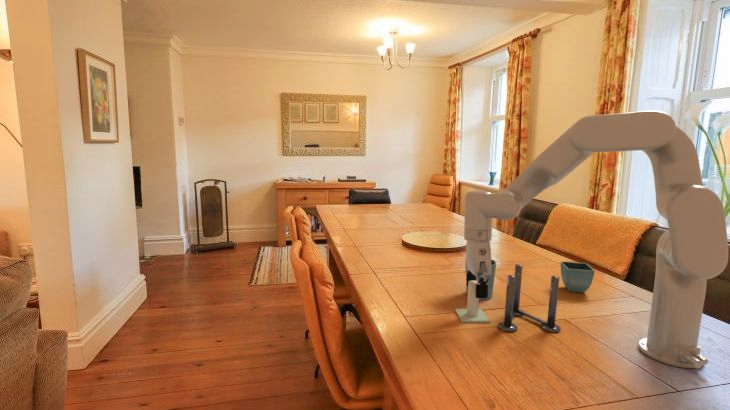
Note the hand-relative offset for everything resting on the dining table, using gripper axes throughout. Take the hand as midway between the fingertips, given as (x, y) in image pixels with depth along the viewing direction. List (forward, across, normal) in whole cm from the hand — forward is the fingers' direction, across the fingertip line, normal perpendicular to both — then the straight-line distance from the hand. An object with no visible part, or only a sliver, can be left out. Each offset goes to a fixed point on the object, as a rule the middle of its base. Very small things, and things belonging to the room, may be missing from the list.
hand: (476, 291), depth 113 cm
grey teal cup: (+8, +18, -6) cm, 20 cm away
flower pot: (+9, +24, -42) cm, 49 cm away
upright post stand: (+8, -2, -13) cm, 15 cm away
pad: (+8, 0, +1) cm, 8 cm away
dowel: (+7, 0, +1) cm, 7 cm away
